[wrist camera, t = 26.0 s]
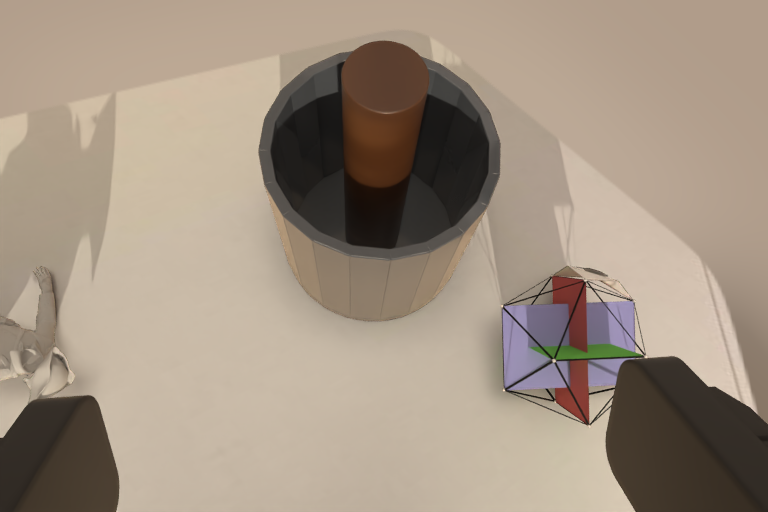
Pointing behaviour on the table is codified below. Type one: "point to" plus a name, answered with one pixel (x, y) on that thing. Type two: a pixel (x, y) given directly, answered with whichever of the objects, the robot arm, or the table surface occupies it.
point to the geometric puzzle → (568, 341)
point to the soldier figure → (35, 348)
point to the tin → (422, 206)
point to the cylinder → (380, 137)
